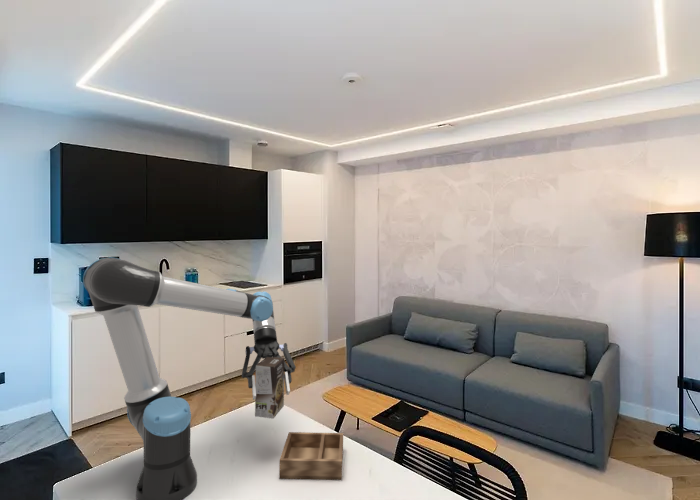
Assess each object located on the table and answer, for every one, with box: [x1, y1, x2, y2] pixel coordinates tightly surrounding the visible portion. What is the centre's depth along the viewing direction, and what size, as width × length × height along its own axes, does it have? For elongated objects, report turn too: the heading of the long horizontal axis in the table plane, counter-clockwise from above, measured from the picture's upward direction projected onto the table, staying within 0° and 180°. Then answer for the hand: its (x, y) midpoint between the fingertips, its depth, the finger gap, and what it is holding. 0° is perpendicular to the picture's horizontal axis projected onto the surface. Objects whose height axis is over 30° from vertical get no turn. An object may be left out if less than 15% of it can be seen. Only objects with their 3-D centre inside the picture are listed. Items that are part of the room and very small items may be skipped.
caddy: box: [278, 431, 344, 481], centre depth 118 cm, size 18×16×6 cm
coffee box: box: [254, 357, 285, 420], centre depth 121 cm, size 9×6×16 cm
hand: (271, 395), depth 118 cm, fingers closed on coffee box, 10 cm apart
